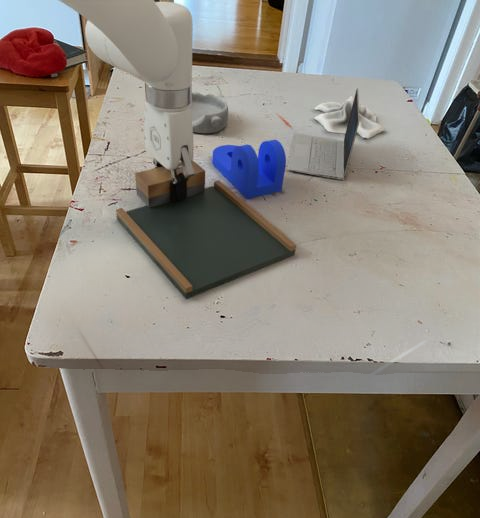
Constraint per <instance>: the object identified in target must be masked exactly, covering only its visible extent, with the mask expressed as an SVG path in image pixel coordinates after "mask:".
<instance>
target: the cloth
mask: <svg viewBox="0 0 480 518" xmlns="http://www.w3.org/2000/svg"><path fill="white" fill-rule="evenodd" d="M354 98H355V96H353V95H351V96H350V97H348V98H347V99H346V100H345V101H343V103H339V102H336V101H327V102H322V103H319V104H318V105H317V106H316V107H314V110H316V111H321V112H323V113H320V114H317V115H316V116H315V117H313V119H314V120H315V121H316V122H318V123H319V124H320V125H321V126H322V127H323V128H324V129H325V130H326V132H328V133H334V134H343V135H345V134H346V130H347V126H348V122H349V118H350V114H351V110H352V106H353V102H354ZM359 120H360V121H359V126H358V130H357V133H356V134H358V135H359V136H360V137H361V138H363V139H368V140H369V139H370V138H372V137H375V136H376V135H378V134H380V133H382V132H385V131H386V130H385V128H384V126H383V125H381V124H380V123H378V122H377V115H376V114H375V113H374V112H373V111H372V110H371V109H369V108H368V107H366V106H365V105H364V104H361V103H359Z"/></svg>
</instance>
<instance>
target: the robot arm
mask: <svg viewBox="0 0 480 518" xmlns="http://www.w3.org/2000/svg"><path fill="white" fill-rule="evenodd" d="M58 1H59V2H60V3H62V4H64V5H66V6H67V7H68V8H70V9H72V10H73V11H75V12H76V13H78V14H79V15H81V16H82V17H83V18H85V19H86V20H87V21H86V23H85V28H84V29H85V31H84V33H85V34H84V35H85V40H86V42H87V43H86V44H87V45H88V48H90V50H91V51H92V53H93V54H94V55H95V56H96V57H97V58H98V59H99V60H101V61H103V62H104V63H105V64H108V65H110V66H112V67H114V68H116V69H118V70H120V71H122V72H124V73H126V74H129V75H130V76H132V77H134V78H137V79H138V80H141V81H142V82H144V91H145V100H144V111H143V112H144V113H143V132H144V133H143V135H144V136H143V137H144V147H145V148H144V149H146V152H147V153H148V154H149V155H150V156H151V157H153V158H152V163H153V166H154V168H158V167H162V166H164V167H165V168H166V169H168V170H171V176H172V182H170V197H171V201H172V202H176V201H179V200H183V199H186V198H187V181H188V179H189V178H190V177H191V176H193V175H194V170H193V167H192V162H193V161H194V132H193V126H192V116H191V109H190V107H191V105H192V92H193V31H194V30H193V25H194V24H193V15H192V13H191V11H190V10H189V8H187V7H186V6H185V5H183V4H180V3H177V2H173V1H172V2H171V1H155V0H58ZM179 162H181V163H179ZM180 168H182V172H181V173H179V174H178V175H177V172H176V169H180Z"/></svg>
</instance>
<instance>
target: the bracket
mask: <svg viewBox="0 0 480 518" xmlns="http://www.w3.org/2000/svg"><path fill="white" fill-rule="evenodd" d="M211 162H212V166H213V167H214V168H215V169H216V170H217V171H218V172H219V173H220V174H221V175H222V177H224V178H225V179H226V180H227V181H228V182H229V183H230V184H231V185H232V186H233V187H234V188H235V189H236V190H237V191H238V192H239V193H240V194H241V196H243V197H244V198H245V200H249V199H253V198H257V197H261V196H267V195H270V194H274V193H279V192H282V191H283V185H284V178H285V172H286V166H287V156H286V152H285V148H284V146H283V145H282V143H281V142H280V141H279V140H278V139H269V140H264V141H262V142H261V144H260V145H259V148H258V153H256V150H255V149H254V148H253V147H252V145H250V144H243V145H242V144H241V145H234V144H224V145H219V146H217V147H215V148H214V149H213V150H212V157H211Z"/></svg>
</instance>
